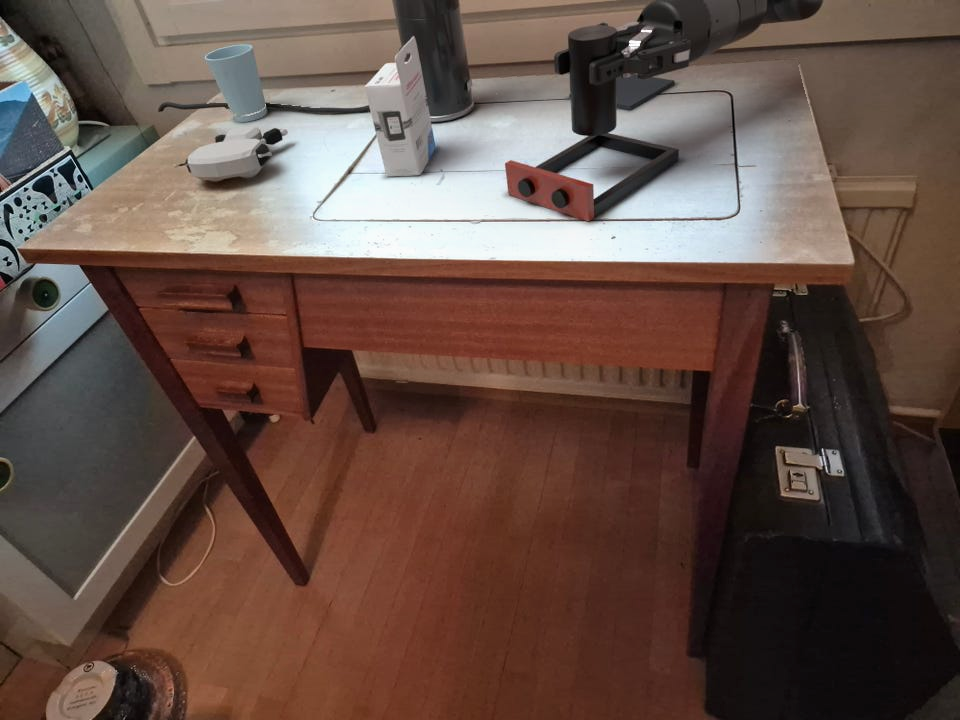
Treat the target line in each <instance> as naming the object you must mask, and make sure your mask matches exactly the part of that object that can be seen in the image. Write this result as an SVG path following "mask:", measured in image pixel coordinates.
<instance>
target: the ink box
mask: <svg viewBox="0 0 960 720" xmlns="http://www.w3.org/2000/svg"><path fill="white" fill-rule="evenodd" d="M406 53H407V54H409V53H410V56H411V57H410V59H409V60H408V62H405V58H406ZM364 90H365V95H366V98H367V103H368V105H369V107H370V111H369V112H370V115H371V119H372V123H373V126H374V131H375V135H376V140H377V143H378V147H379V152H380V156H381V160H382V164H383V168H384V172H385V176H386V177H408V176H409V177H411V176H420V175H422V173H423V171H424V170H425V168H426V167H427V165H428V163H429V161H430V159H431V158H432V156H433V154H434V152H435V150H436V147H437V146H436V141H435V136H434V131H433V124H432V122H431V119H430V113H429V108H428V103H427V97H426V91H425V86H424V80H423V75H422V69H421V64H420V60H419V54H418V49H417V44H416V39H415V37H414V36H413V37H412V38H411V39H410V40H409V41H408V42H407V43H406V44H405V45H404V47H403V48H402V49H401V50H400V51H399V50H398V52H397V53H396V55H395V56H394V62H386V63H385V64H384V65H383V66H382V67H381V68H380V69H379V70H378V71H377V72H376V74H374V76H373V77H372V78H371V79H370V80H369V81H368V82H367V83H366V84H365V85H364Z"/></svg>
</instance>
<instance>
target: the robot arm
mask: <svg viewBox="0 0 960 720" xmlns="http://www.w3.org/2000/svg"><path fill="white" fill-rule="evenodd" d="M391 1H392V7H393V11H394V16H395V21H396V27H397V31H398V36H399V42H400V47H399V48H398V52H399V51H400V50H401V49H402V48H403V47H404V45H405V44H406V43H407V42H408V41H409V40H410V39H411V38H412V37H413V36H414V37H415V39H416V44H417V49H418V54H419V60H420V64H421V69H422V75H423V80H424V86H425V91H426V97H427V103H428V108H429V113H430V119H431V123H438V122H439V123H440V122H447V121H451V120H456V119H459V118H461V117H463V116H466V115H468V114H469V113H471V112H472V111H473V110H474V109H475V100H474V98H473V91H472V88H473V77H472V76H471V75H470V67H469V60H468V54H467V46H466V39H465V33H464V25H463V18H462V11H461V3H460V0H391ZM825 1H826V0H652V1H650V2H649V3H648V4H647V5H646V6H645V7H644V8H643V9H642V11H641V12H640V14H639V16H638V18H637V19H636V21H631V22H625V23H623V24H622V25H621V26H618V27H615V28H616V29H617V53H615V54H612V55H610V56H607V57H604V58H602V59H599V60H596V61H594V62H592V63H591V64H590V66H589V81H590V83H591V84H593V85H596V86H597V85H600V84H602V83H605V82H607V81H610V80H612V79H615V78H617V77H620V76H621V77H625V78H628V77H631V76H632V75H634V74H637V78H639V79H646V78H650V77H658V76H660V75H664V74H667V73H671V72H675V71H678V70H682V69H685V68H688V67H689V66H690V63H693V62H695V61H697V60H699V59H702V58H704V57H707V56H709V55H712V54H714V53H715V52H716V51H719V49H721V48H723V47H726V46H728V45H730V44H734V43H735V42H738V41H740V40H742V39H744V38H747V37H748V36H750V35H752V34H753V33H754V32H756V31H757V30H758V29H759V27H760V26H761V25H768V24H776V23H786V22H798V21H799V22H800V21H804V20H807V19H810V18H812V17H814V16H815V15H816V14H817V13H818V12H819V11H820V10H821V8H822V7H823V5H824V3H825ZM597 25H605V26H609V23H607V22H600V23H598V24H597ZM410 57H411V56H410V53H409V54H407V53H406V58H405V62H408V60H409V59H410ZM553 63H554V64H553V66H554V73H555V74H557V75H559V76H564V75H567V74H569V49H568V48H565V49H562V50H560V51H557V52H555V54H554V57H553ZM207 103H209V104H207ZM265 103H266V108H268V109H279V110H289V111H299V112H307V113H316V114H317V113H320V114H360V113H366V112H371V111H370V107H369V104H367V105H364V106H359V107H323V106H321V107H320V106H319V107H320V108H310V107H311V106H307V107H301V106H302V105H299V106H292V105H293V104H288V105H281V104H282V103H277V104H270V103H271V102H265ZM166 108H174V109H178V110H185V111H186V110H201V109H213V108H214V109H215V108H229V106H228V104H227V103H216V102H203V103H189V104H180V103H175V102H170V101H165V102H162V103H161V104H160V105H159V107H158V109H157V112H158V113H162V112H164V110H165V109H166Z"/></svg>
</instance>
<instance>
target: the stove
mask: <svg viewBox="0 0 960 720" xmlns="http://www.w3.org/2000/svg"><path fill="white" fill-rule="evenodd" d="M598 147H602V148H606V149H611V150H615V151H618V152H623V153H626V154H631V155H635V156H637V157H642V158H646V159H651V161H649V162H647V163H646V164H645V165H643V166H642V167H640V168H638V169H637V170H636V171H634V172H632V173H631V174H629V175H628V176H627V177H625V178H624V179H622V180H620V181H619V182H617V183H616V184H614V185H612V187H609V188H608V189H607V190H605V191H604V192H602V193H601V194H600V195H597V196H596V197H595V196H594V195H595V193H594V191H595V190H594V184H593V183H590V182H587V181H584V180H580V179H577V178H573V177H571V176H567V175H563V174H560V173H557V172H558V171H560V170H561V169H563V168H565V167H566V166H568V165H570V164H572V163H573V162H575V161H577V160H579V159H580V158H582V157H583V156H585V155H586V154H588V153H590V152H591V151H593V150H595V149H597V148H598ZM679 154H680V149H679V148H675V147H671V146H666V145H663V144H657V143H653V142H650V141H645V140H642V139H641V140H640V139H636V138H632V137H627V136H622V135H618V134H614V133H611V132H609V133H606V134H603V135H598V136H585V137H584V138H582V139H581V140H579V141H577V142H575V143H574V144H572V145H570V146H569V147H567V148H565V149H564V150H561V151H560V152H558V153H557V154H555V155H553V156H551V157H549V158H548V159H546V160H544V161H543V162H541V163H539V164H538V165H536V166H532V165H529V164H525V163H522V162H518V161H516V160H512V159H510V160H508V161H506V162H505V163H504V167H505V177H506V186H507V194H508V196H511V197H513V198H517V199H520V200H523V201H525V202H528V203H531V204H535V205H537V206H540V207H543V208H547V209H550V210H551V211H555V212H558V213H561V214H564V215H566V216H570V217H573V218H575V219H576V218H577V219H579V220H582V221H585V222H587V223H588V222H591V221H592V220H594V219H595V218H597V217H598V216H600V215H601V214H602V213H604V212H606V211H607V210H609V209H611V207H613V206H614V205H616V204H618V203H619V202H621V201H622V200H623V199H625V198H626V197H628V196H630V194H632V193H634V192H635V191H636V190H638V189H639V188H641V187H642V186H644V185H646V183H648V182H649V181H651V180H652V179H654V178H656V177H657V176H659V175H661V173H663V172H664V171H666V170H667V169H669V168H670V167H672V166H673V165H675V164H676V163H678V162H679Z"/></svg>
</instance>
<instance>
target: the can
mask: <svg viewBox="0 0 960 720" xmlns="http://www.w3.org/2000/svg"><path fill="white" fill-rule="evenodd" d="M616 28H617V27H614V26H611V25H608V26H605V25H598V24H595V25H586V26H583V27H578V28H576V29H573V30H571V31H570V32H569V33H567V46H568V48H567V49H569V72H568V74H569V94H570V97H571V98H570V117H571V118H570V120H571V121H570V122H571V131H572V132H573V133H574V134H576V135H579V136H583V137H588V136H598V135H603V134H606V133H611V132H613V131H614V130H616V128H617V125H618V124H617V118H618V117H617V116H618V114H617V113H618V112H617V111H618V110H617V109H618V108H617V78H615V79H612V80H610V81H607V82H605V83H602V84H600V85H597V86H596V85H593V84H591V83H590V81H589V66H590V64H591V63H592V62H594V61H596V60H599V59H602V58H604V57H607V56H610V55H612V54H615V53H617V29H616Z"/></svg>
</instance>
